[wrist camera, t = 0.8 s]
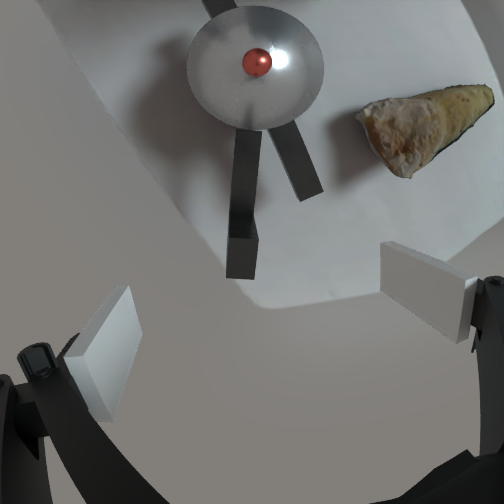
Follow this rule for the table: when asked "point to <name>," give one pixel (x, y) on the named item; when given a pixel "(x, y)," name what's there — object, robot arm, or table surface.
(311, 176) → the pot
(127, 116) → the table surface
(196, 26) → the table surface
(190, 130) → the table surface
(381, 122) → the mineral
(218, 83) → the lid
